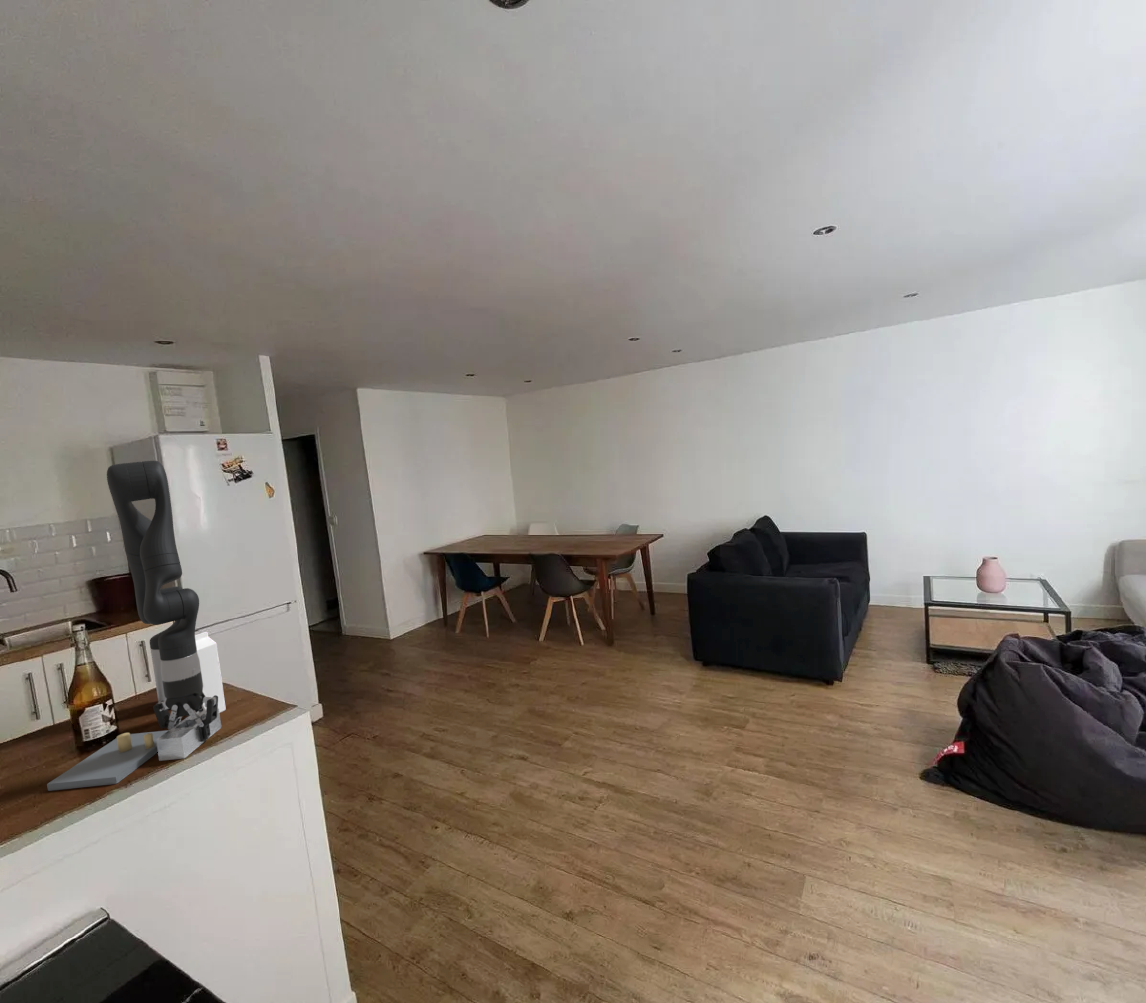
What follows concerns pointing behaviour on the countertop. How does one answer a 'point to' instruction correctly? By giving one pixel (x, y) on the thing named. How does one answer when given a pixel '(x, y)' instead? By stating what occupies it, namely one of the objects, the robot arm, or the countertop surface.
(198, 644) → the milk
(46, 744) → the countertop surface
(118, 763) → the base plate
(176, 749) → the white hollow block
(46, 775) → the countertop surface
